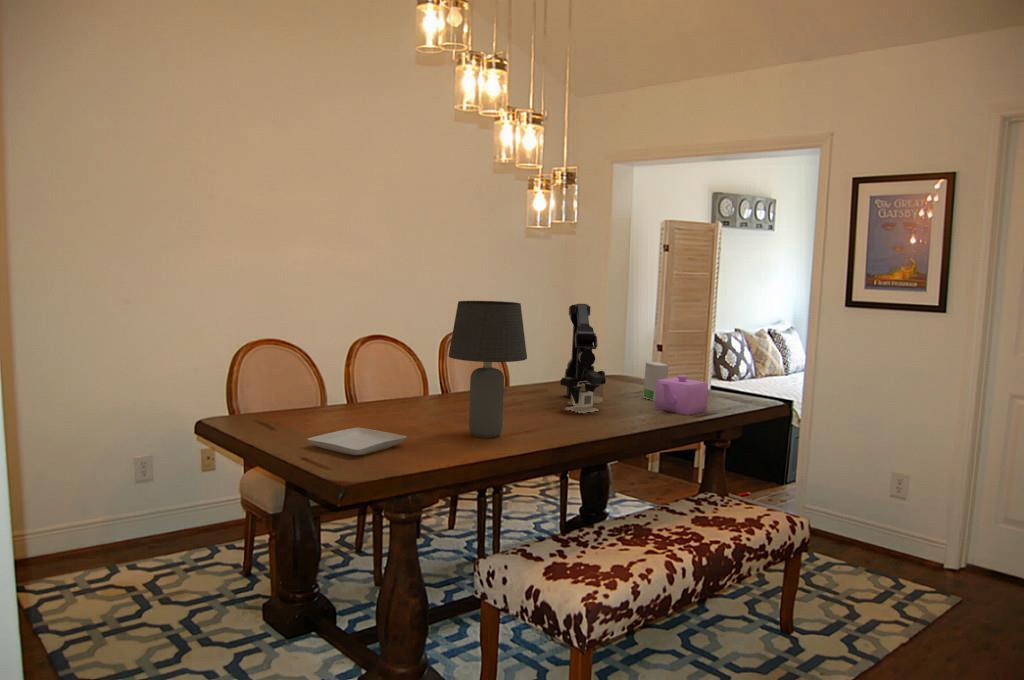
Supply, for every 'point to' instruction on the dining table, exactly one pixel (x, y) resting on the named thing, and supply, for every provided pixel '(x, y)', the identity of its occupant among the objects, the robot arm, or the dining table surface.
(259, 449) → the dining table surface
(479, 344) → the lamp
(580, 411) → the cream square tile
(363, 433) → the salad plate
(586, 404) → the cream grey-paneled cube
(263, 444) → the dining table surface
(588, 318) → the robot arm
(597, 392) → the oak screen
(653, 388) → the skincare box
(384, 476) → the dining table surface
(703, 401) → the violet knobbed box
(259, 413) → the dining table surface
